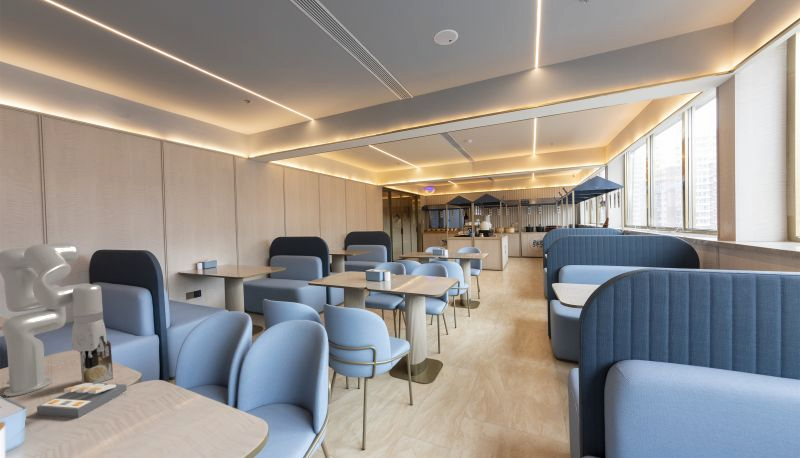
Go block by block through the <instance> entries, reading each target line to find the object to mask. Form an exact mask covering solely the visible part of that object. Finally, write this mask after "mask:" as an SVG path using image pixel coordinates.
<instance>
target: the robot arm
mask: <svg viewBox="0 0 800 458" xmlns="http://www.w3.org/2000/svg"><path fill="white" fill-rule="evenodd" d="M79 257H80V252H79V250H78V247H76V245H74V244H72V243H69V242H62V243H61V242H60V243H59V242H58V243H42V244H40V243H39V244H36V245H31V246H30V247H21V248H19V247H17V248H10V249H5V250H2V251H0V276H1V277H2V279H3V281H4V292H5V293H4V294H5V304H6V308H7V310H8V311H10V312H13V313H19V312H25V311H31V310H37V309H42V308H46V309H43V310H40V311H32V312H29V313H23V314H18V315H15V316H12V317H9V318H8V319H6V320H4V322H3V323H2V325H1V330H2V331H1V332H2V334H3V336H4V340H5V343H6V349H7V350H6V351H7V364H8V365H7V367H8V368H7V369H8V381H7V382H6V385H9V387H8V388H7V389H6V390H5V391H3V396H4V395H6V396H5V397H8V396H9V397H17V396H21V395H26V394H29V393H33V392H35V391H38V390H40V389H43V388H45V387H47V386H48V385H50V384H51V383H52V378H49V377H46V364H45V362H46V361H45V347H44V342H43V341H42V339H39V338H37V337H35V336H36V335H39V334H43V333H46V332H47V333H48V332H51V331H54V330H58V329H60V328H63V327H64V326H65V324H66V321H67V311H66V310H67V309H66V307H71V306H72V311H73V312H72V313H73V325H72V329H71V349H72V350H73V351H77V352H79V353H80V352H81V353H82V354H83V358H85V368H86V369H90V368H93V367H95V366H97V365H98V364H99V362H98V355H99V352H101V351H104V350H105V349H104V346H105V345H106V344H107V340H108V339H107V331H106V326H105V321H104V310H103V309H104V308H103V294H102V292H103V291H102V287H101V285H98V284H91V283H86V282H85V283H79V284H73V285H72V284H70V285H65V286H60V285H57V284H53V283H57V282H59V281H60V280H63V279H65V278H66V277H67V276H68V275H69V274H70V273H71V271H72V267H71V265H70V264H71V263H73V262H75V261H77V260H78V258H79ZM30 268H33V270H34V272H36V273H37V274H36V273H34V272H33V271H32V270H30Z"/></svg>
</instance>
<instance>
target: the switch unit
mask: <svg viewBox="0 0 800 458" xmlns="http://www.w3.org/2000/svg"><path fill="white" fill-rule="evenodd" d="M94 384H104V385H108V384H109V383H104V382H100V383H93V385H94ZM114 384H115V385H116V387H115V388H112V389H109V390H105V391H102V392H99V393H96V394H94V393H88V392H84V393H78V392H76V391H73V392H64V394H61V395H59V396H57V397H55V398H52V399H50V400H48V401H46V402H44V403H41V404H39V405H38V406H36V411H37V412H36V415H38V416H53V417H63V418H78V419H79V418H81V417H83V416H84V415H86V414H87V415H88V414H89V413H90V412H93V411H94V410H96V409H98V408H99V406H100V407H102V406H103V405H105V404H107V403H109V402H110V400H111V401H112V399H113V398H114V399H116V398H118V397H120V396H121V395H120V394H122V393H123V392H125V391H126V390H127V388H128V387H127V384H121V383H114ZM127 391H128V390H127ZM119 395H120V396H119ZM122 395H123V394H122ZM117 396H118V397H117ZM115 397H116V398H115ZM114 399H113V400H114Z"/></svg>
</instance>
